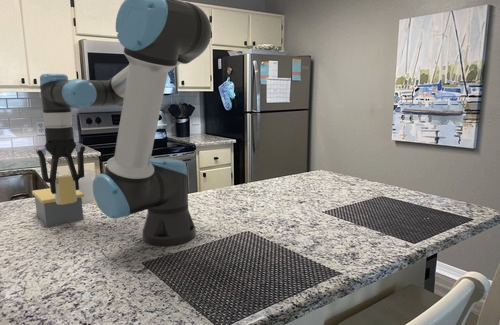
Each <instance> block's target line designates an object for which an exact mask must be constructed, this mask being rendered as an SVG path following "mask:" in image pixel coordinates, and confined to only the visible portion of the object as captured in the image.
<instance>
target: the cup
mask: <svg viewBox="0 0 500 325" xmlns="http://www.w3.org/2000/svg"><path fill="white" fill-rule="evenodd" d="M76 172H77V174H78V170H76ZM68 175H70V176H71V177H72V175H71V172H70V171H69V172H68ZM94 179H95V174H94V170H89V169H84V177H83V178H80V179H79V180H78V182H79V191H80V192H82V193H83V194H84V197H81V198H82V205H83V204H89V203H92V202H94V194H93V181H94Z"/></svg>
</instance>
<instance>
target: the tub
mask: <svg viewBox="0 0 500 325" xmlns="http://www.w3.org/2000/svg"><path fill="white" fill-rule="evenodd" d="M34 202H35V209H36V211H35V212H36V217H38V218H39V220H40V221H41V222H42V224H43V225H44V226H45V227H46V228H49V227H53V226H54V227H55V226H58V225H64V224H69V223H73V222H78V221H82V220H84V210H83V208H84V207H83V204H82V198H81V197H80V198H77V201H76V202H75V203H69V204H64V205H61V204H59V205H58V204H57V203H56V202H51V203H45V204H42V203H41V202H40V201H39V200H38V199H37V198H36V197H35V196H34Z"/></svg>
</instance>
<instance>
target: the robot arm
mask: <svg viewBox="0 0 500 325" xmlns="http://www.w3.org/2000/svg"><path fill="white" fill-rule="evenodd" d="M115 32H116V33H117V35H116V37H117V40H118V43H120V44H121V45H122V47H123V55H124V56H125V57H126V59H127V61H128V62H129V63H128V65H127V66H126V67H124V68H122V69H121V70H120V71H119V72H118V73H117V74H115V75H114V76H112V77H111V78H109V80H92V79H91V80H90V79H89V80H87V79H86V80H85V79H81V78H79V79H78V78H74V79H69V77H68V75H67V74H64V73H43V74H40V76H39V90H40V96H41V97H40V98H41V106H42V113H43V122H44V126H45V128H44V134H45V144H44V147H42V148H40V149H36V150H35V152H36V155H37V156H38V159H39V167H40V171H41V177H42V178H41V179H42V181H43V183H48V184H49V188H51V193H52V194H55V201H56V203H57V204H58V205H59V204H60V195H59V185H58V183H57V182H56V176H57V173H58V172H57V171H58V165H59V164H58V163H59V159H61V158H65V159H66V162H67V166H68V169H69V173H70V172H71V175H72V177H73V187H74V197H75V202H76V201H77V197H76V190H79V182H78V180H79V179H80V178H83V177H84V170H85V165H84V164H85V163H84V162H85V161H84V153H85V150H86V147H85V146H83V145H78V144H77V143H76V141H75V137H74V127H72V125H73V118H72V117H73V116H72V108H76V109H80V108H81V109H83V108H86V107H91V108H92V107H121V112H120V113H121V114H120V118H119V119H120V121H119V125H118V132H117V136H116V144H115V149H114V156H113V157H111V158H109V159H108V160H107V162H106V165H105V170H104V173H99V174H98V175H97V176H94V178H95V179H94V181H93V194H94V196H93V199H94V200H95V202H96V205H97V207H98V208H99V209H100V211H101V213H103V214H104V215H105V216H106V217H108V218H111V219H121V218H125V217H126V218H127V217H129V216H130V215H133V214H137V213H140V212H143V211H146V210H147V214H146V218H145V221H144V225H143V228H142V240H143V241H144V243H146V244H148V245H152V246H161V247H165V246H166V247H167V246H168V247H169V246H175V245H176V246H177V245H182V244H183V243H187V242H189V241H191V240H193V239H194V238H195V236H196V225H195V224H194V220H193V219H192V216H191V212H190V210H189V189H188V188H189V185H188V183H189V181H188V176H189V174H188V170H187V169H188V168H187V164H186V162H184V161H183V160H181V159H175V158H159V157H157V158H156V157H153V158H152V154H153V148H154V144H155V143H154V142H155V138H156V133H157V129H158V124H159V118H160V113H161V108H162V104H163V99H164V94H165V88H166V83H167V79H168V75H169V72H170V71H171V70H174V69H175V68H176V67H178V66H179V65H181V64H182V65H186V64H187V65H188V64H189V63H191V62H192V61H194V60H195V59H197V58H198V57H200V56H201V55H202V54H203V53H204V52H205V51H206V49H207V48H208V47H209V45H210V42H211V40H212V39H211V38H212V26H211V21H210V19H209V17H208V16H207V14H206V13H205V11H204V10H203V9H202V8H200V7H199V6H198V5H196V4H193V3H191V2H186V1H182V0H124V1H123V2H122V3H121V4H120V7H119V8H118V12H117V14H116V18H115ZM74 151H76V152H77V153H76V156H77V160H76V161H77V169H76V166H75V164H74V160H73V156H72V154H73V152H74ZM47 152H48V153H49V154H50V155H51V161H50V162H51V164H50V172H49V174H48V166H47V160H46V154H47ZM76 171H78V174H77V172H76Z"/></svg>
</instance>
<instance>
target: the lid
mask: <svg viewBox="0 0 500 325" xmlns="http://www.w3.org/2000/svg"><path fill="white" fill-rule="evenodd" d="M56 182H57V183H58V185H59V195H60V204H61V205H64V204H69V203H75V197H74V187H73V177H71V176H70V175H69V174H64V175H63V174H62V175H56ZM31 193H32V195H33V196H34V198H35V197H36V198H37V199H38V200H39V201H40V202H41V203H42V204H45V203H51V202H56V201H55V194H52V193H51V188H50V187H49V188H43V189H35V190H34V189H33V190H31ZM76 197H77V198H80V197H84V194H83V193H82V192H80V191H79V190H76Z"/></svg>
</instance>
